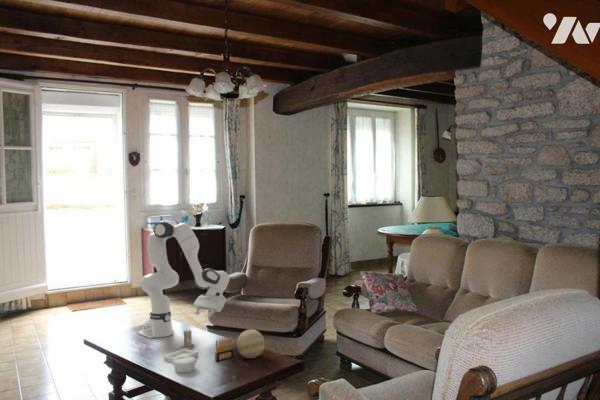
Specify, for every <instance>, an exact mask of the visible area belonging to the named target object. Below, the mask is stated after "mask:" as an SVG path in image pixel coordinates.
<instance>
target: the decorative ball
mask: <svg viewBox="0 0 600 400" xmlns="http://www.w3.org/2000/svg"><path fill="white" fill-rule="evenodd" d="M265 347H266V344H265V338H264V336H263V334H262V333H261V332H260V331H258V330H256V329H252V328H251V329H250V328H249V329H246V330H244V331H242V332H241V333H240V335H238V337H237V340H236V348H237V352H238V353H239V354H240V356H242V357H244V358H246V359H255V358H257V357H259V356H260V355H262V353H263V352H264V349H265Z"/></svg>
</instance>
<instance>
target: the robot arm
mask: <svg viewBox="0 0 600 400" xmlns="http://www.w3.org/2000/svg"><path fill="white" fill-rule="evenodd" d="M152 229H153V230H152V231H153V232H151V233H150V234H148V236H147V255H148V264H149V265H151V266H152V267H154V268H155V270H156V272H152V273H148V274H145V275H143V276H142V277H141V278H140V282H139V283H140V284H139V285H140V288H141V289H142V291H144V292H145V293H146V294H147V296H148V297H149V299H150V304H151V307H150V308H151V312H149V313H148V315H149V318H148V319H146V320H145V321H144V322H143V324H142V329H141V330H140V331H138V334H139V335H141V336H143V337H146V338H149V339H153V338H164V337H166V338H167V337H168V336H171V335H173V334H174V328H173V323H172V322H173V321H172V312H171V302H170V301H171V300H170V298H169V297H168V296H167V295H164V293H163V290H166V289H171V288H173V287H175V286H177V285H178V284H179V281H180V276H179V273H177V272H176V271H175V270H174V269H173V268H172V267H171V265H170V263H169V260H168V254H167V245H166V244H167V243H166V242H167V240H169V239H172V238H175V239H176V240H177V242H178V245H179V246H180V248H181V249H182V252H183V254H184V257H185V259H186V262H187V263H188V265H189V268H190V270H191V272H192V275H193V280H194V281H193V282H194V285H195V287H197V288H198V289H199V290H206V289H207V291H206V293H205V294H203V293H202V294H200V295H199V296H198V297H197V298H196V299H195V301H194V302H193V307H194V308H195V315H196V316H199V315H200V314H201V313H200V311H201V310H205V311H206V310H207V311H210V312H208V313H207V315H206V317H208V318H211V317H212V315H213V314H215V313H216V312H218V313H220V312H221V311H222V310H223V308H224V306H225V305H226V304H225V303H226V302H227V298H226V297H225V296H224V295H223V293H224V291H225V290H226V289H227V287H228V284H229V282H230V279H231V278H230V275H229V274H228V273H227V272H226V271H224V270H215V269H213V268H210V267H208V268H204V269H203V268H202V266H201V263H200V261H199V257H198V253H199V250H200V242H199V239H198V237H197V236H196V234H195V232H194V230H193V229H192V228H191V227H190V225H189V224H188V223H187V222H180V223H179V222H178V221H177V220H174V219H165V220H159V221H158V222H156V223H155V224H154V226H153V228H152Z"/></svg>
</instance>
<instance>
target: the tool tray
mask: <svg viewBox="0 0 600 400" xmlns="http://www.w3.org/2000/svg"><path fill="white" fill-rule="evenodd" d="M184 356H191V357H194V358H197V357H198V356H199V353H198V351H197V350H192V349H179V350H176V351H174V352H171V353H169V354H166V355H163V361H165V362H167V363H172V364H174V363H173V360H174V359H176V358H178V357H184Z"/></svg>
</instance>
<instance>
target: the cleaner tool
mask: <svg viewBox="0 0 600 400" xmlns="http://www.w3.org/2000/svg"><path fill="white" fill-rule="evenodd" d="M192 348H195V344H194V343H192V330H190V329H186V330H183V346H181V349H188V350H191V349H192ZM181 349H180V350H181Z"/></svg>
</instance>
